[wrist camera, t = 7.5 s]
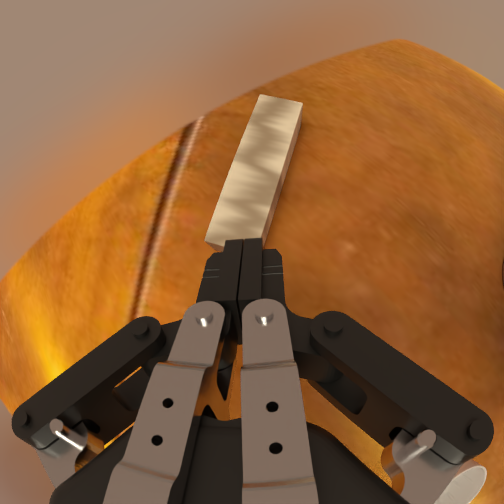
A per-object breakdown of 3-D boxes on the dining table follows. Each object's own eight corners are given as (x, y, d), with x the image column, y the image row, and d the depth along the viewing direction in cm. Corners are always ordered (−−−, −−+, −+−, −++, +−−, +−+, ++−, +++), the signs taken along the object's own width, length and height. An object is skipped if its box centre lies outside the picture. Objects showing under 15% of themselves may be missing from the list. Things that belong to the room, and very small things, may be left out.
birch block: (258, 263, 31) (300, 127, 33) (254, 255, 26) (302, 103, 29) (215, 250, 32) (262, 118, 34) (204, 240, 27) (260, 94, 29)
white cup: (406, 490, 23) (432, 529, 13) (393, 458, 25) (424, 498, 15) (452, 460, 23) (487, 489, 13) (444, 424, 25) (485, 452, 15)
